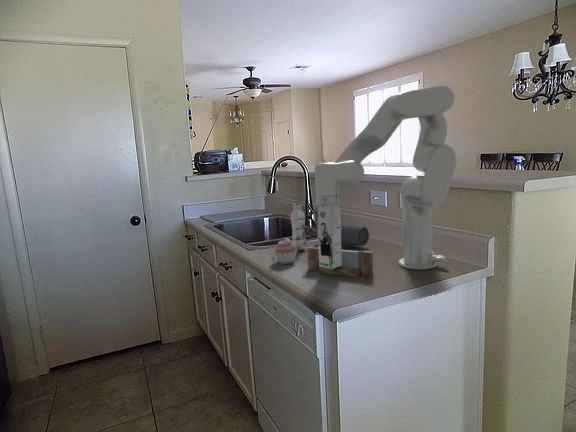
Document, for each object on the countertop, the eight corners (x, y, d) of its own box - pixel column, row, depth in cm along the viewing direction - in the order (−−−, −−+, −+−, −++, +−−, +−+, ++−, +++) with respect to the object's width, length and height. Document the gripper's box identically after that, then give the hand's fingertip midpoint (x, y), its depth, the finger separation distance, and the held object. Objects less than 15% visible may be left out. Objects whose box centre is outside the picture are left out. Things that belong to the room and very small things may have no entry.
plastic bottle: (290, 252, 161) (288, 205, 158) (293, 248, 168) (290, 203, 164) (305, 252, 160) (303, 205, 157) (307, 247, 167) (305, 202, 163)
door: (362, 273, 128) (362, 250, 127) (361, 274, 127) (361, 251, 126) (324, 268, 135) (323, 247, 134) (322, 269, 134) (322, 248, 133)
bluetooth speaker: (370, 246, 164) (369, 223, 162) (357, 251, 157) (357, 227, 156) (328, 239, 180) (327, 219, 178) (316, 243, 173) (315, 222, 171)
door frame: (373, 274, 127) (372, 251, 126) (370, 278, 124) (369, 254, 122) (310, 268, 138) (309, 246, 136) (306, 271, 134) (304, 249, 133)
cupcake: (270, 261, 149) (268, 236, 147) (291, 257, 153) (289, 233, 151) (281, 267, 141) (279, 241, 139) (302, 262, 145) (301, 237, 143)
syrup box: (318, 266, 129) (316, 224, 126) (330, 262, 133) (328, 221, 130) (331, 269, 125) (329, 226, 122) (342, 265, 128) (341, 223, 126)
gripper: (329, 204, 115) (331, 260, 118) (346, 196, 131) (348, 246, 134) (306, 204, 119) (309, 258, 122) (326, 196, 134) (328, 245, 137)
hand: (330, 251), depth 128 cm, fingers closed on syrup box, 7 cm apart
